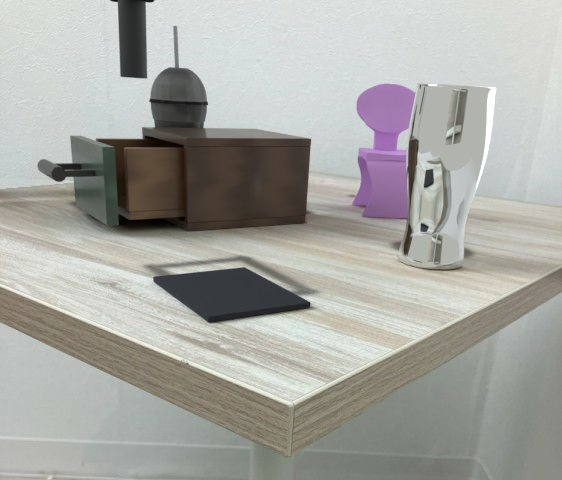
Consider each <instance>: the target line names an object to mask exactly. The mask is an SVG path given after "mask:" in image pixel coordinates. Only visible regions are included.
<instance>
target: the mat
mask: <svg viewBox="0 0 562 480" xmlns="http://www.w3.org/2000/svg"><path fill="white" fill-rule="evenodd" d="M152 282H154V283H155V284H156V285H157V286H159V287H160V288H161V289H163V290H164V291H165V292H167V293H169V294H170V295H171V296H172V297H174V298H175V299H177V300H178V301H179V302H181V303H182V304H183V305H184V306H186V307H187V308H188V309H190V310H191V311H193V312H194V313H195V314H197V315H198V316H199V317H201V318H202V319H204V320H205V321H206V322H207V323H213V322H219V321H227V320H235V319H240V318H241V319H242V318H247V317H254V316H260V315H267V314H274V313H282V312H288V311H293V310H302V309H309V308H311V305H312V304H311V301H309V300H308V299H305V298H303V297H302V296H299V295H298V294H296V293H294V292H292V291H290V290H288V289H286V288H284V287H283V286H281V285H279V284H277V283H275V282H273V281H272V280H270V279H268V278H266V277H264V276H262V275H261V274H258V273H256V272H254V271H252V270H251V269H249V268H247V267H244V266H242V267H233V268H224V269H214V270H204V271H195V272H186V273H175V274H174V273H173V274H167V275H157V276H153V277H152Z"/></svg>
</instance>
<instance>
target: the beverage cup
mask: <svg viewBox="0 0 562 480" xmlns="http://www.w3.org/2000/svg"><path fill="white" fill-rule="evenodd" d="M172 31H173V52H174V53H173V54H174V58H173V59H174V67H173V66H171V67H170V66H169V67H166V68H164V69H163V70H162V71H161V72H160V73H158V75H157V76H156V77H155V78H154V81H153V83H152V85H151V88H150V98H149V101H148V102H149V103H150V110H151V115H152V119H153V122H154V127H167V128H205V127H204V126H205V122H206V118H207V112H208V106H209V102H208V96H207V90H206V88H205V85H204V83H203V82H202V80H201V78H200V77H199V76H198V74H196V72H194V71H193V70H191V69H189V68H187V67H180V59H179V35H178V25H173V26H172Z"/></svg>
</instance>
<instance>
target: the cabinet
mask: <svg viewBox="0 0 562 480" xmlns="http://www.w3.org/2000/svg"><path fill="white" fill-rule="evenodd" d="M141 135H142V138H141V139H161V140H165V141H168V142H172V143H176V144H180V145H184V192H185V217H174V218H162V219H164V220H166V221H167V222H169V223H171V224H173V225H175V226H177V227H179V228H180V229H183V230H184V231H187V232H194V231H208V230H209V231H210V230H222V229H223V230H224V229H225V230H226V229H238V228H252V227H265V226H281V225H295V224H296V225H297V224H306V222H307V208H308V207H307V206H308V193H309V179H310V177H309V176H310V161H311V146H312V138H310V137H304V136H299V135H294V134H287V133H281V132H275V131H270V130H264V129H259V128H233V127H231V128H230V127H229V128H228V127H227V128H226V127H204V128H167V127H155V126H142V127H141Z"/></svg>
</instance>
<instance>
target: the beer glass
mask: <svg viewBox="0 0 562 480" xmlns="http://www.w3.org/2000/svg"><path fill="white" fill-rule="evenodd" d="M415 86H416V88H415V91H414V92H415V98H414V102H413V107H412V112H411V117H410V123H409V129H407V137H406V138H407V139H406V148H405V150H406V182H407V218H406V221H405V222H406V223H405V228H404V231H403V232H404V233H403V236H402V239H401V243H400V246H399V249H398V252H397V260H398V261H399V262H400V263H402V264H405V265H407V266H411V267H415V268H419V269H420V268H421V269H425V270H426V269H427V270H437V271H446V270H447V271H448V270H456V269H460V268H462V267H463V266H464V263H465V232H466V225H467V221H468V216H469V213H470V210H471V206H472V204H473V202H474V201H473V200H474V197H475V196H476V192H477V189H478V187H479V183H480V182H481V177H482V175H483V171H484V168H485V165H486V162H487V157H488V153H489V148H490V143H491V137H492V131H493V130H492V129H493V122H494V112H495V103H496V102H495V100H496V92H497V87H494V86H480V85H461V84H460V85H459V84H444V83H443V84H441V83H421V82H420V83H419V82H418V83H416V85H415Z"/></svg>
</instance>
